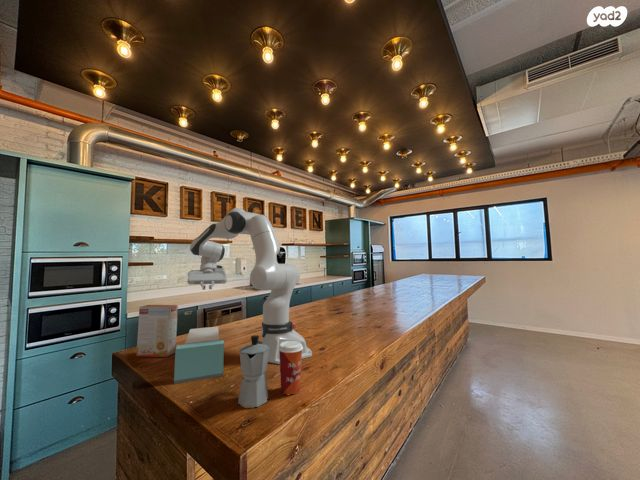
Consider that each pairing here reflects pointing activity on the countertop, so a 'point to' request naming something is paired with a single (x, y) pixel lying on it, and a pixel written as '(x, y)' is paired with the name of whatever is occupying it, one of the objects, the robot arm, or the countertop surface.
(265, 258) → the robot arm
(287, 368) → the paper cup
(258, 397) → the coffee maker
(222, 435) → the countertop surface
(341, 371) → the countertop surface
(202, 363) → the rectangular block
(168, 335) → the cracker box
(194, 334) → the stone slab
